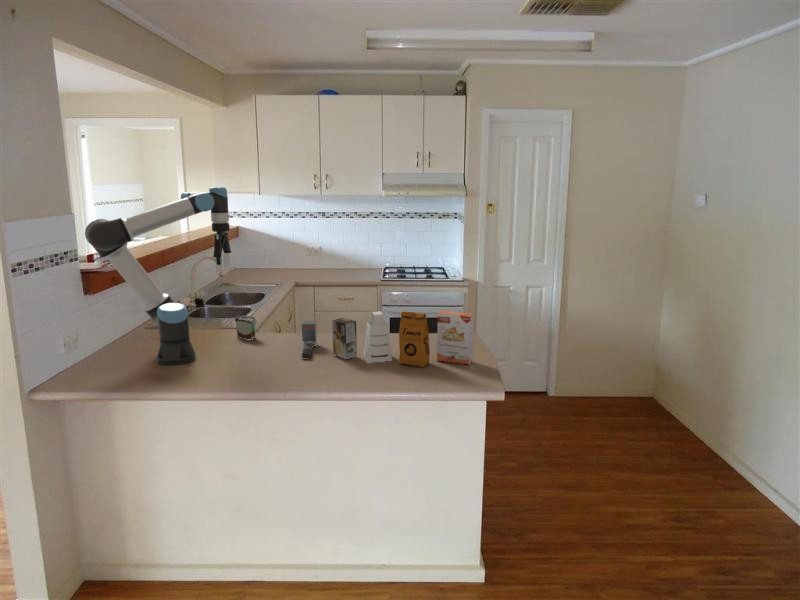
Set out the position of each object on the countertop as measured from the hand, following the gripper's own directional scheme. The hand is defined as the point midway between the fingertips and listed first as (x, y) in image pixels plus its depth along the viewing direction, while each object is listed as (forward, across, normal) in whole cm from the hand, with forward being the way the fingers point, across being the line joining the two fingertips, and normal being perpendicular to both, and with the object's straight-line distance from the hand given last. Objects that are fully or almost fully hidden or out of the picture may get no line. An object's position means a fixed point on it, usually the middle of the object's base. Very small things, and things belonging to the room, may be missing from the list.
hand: (223, 269), depth 253 cm
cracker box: (+35, -34, -101) cm, 112 cm away
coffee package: (+35, -36, -84) cm, 98 cm away
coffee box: (+35, -24, -55) cm, 69 cm away
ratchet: (+35, -15, -39) cm, 54 cm away
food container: (+35, +9, -8) cm, 37 cm away
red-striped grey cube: (+32, -7, -38) cm, 50 cm away
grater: (+35, -28, -69) cm, 82 cm away
